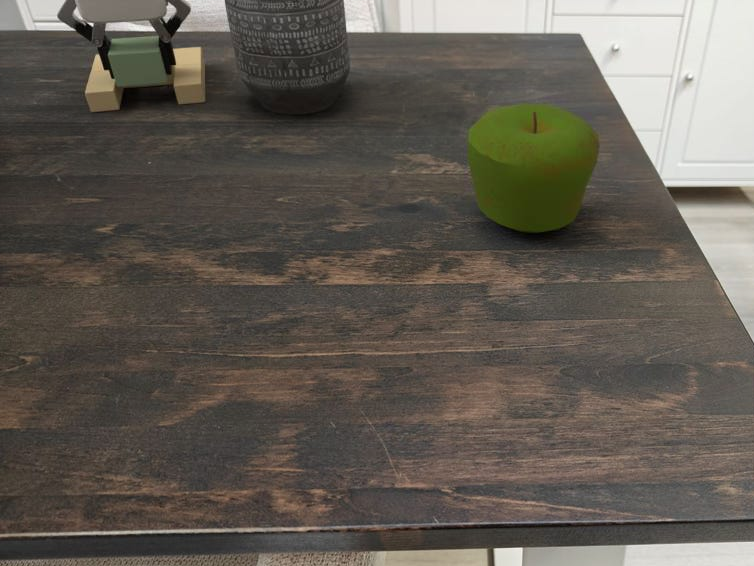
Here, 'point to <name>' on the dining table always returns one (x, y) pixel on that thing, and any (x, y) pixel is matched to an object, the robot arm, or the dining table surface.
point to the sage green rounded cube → (137, 61)
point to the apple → (531, 165)
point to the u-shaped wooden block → (184, 77)
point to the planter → (290, 51)
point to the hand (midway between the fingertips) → (142, 71)
